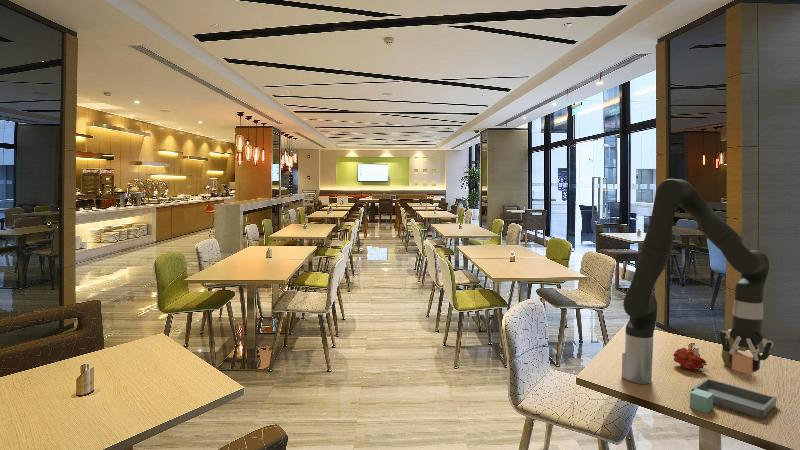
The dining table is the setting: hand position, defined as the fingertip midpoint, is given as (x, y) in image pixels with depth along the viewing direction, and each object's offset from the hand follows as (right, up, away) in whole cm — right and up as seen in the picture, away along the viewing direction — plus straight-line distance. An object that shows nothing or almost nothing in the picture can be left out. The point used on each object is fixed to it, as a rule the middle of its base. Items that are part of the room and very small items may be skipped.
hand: (744, 368), depth 148 cm
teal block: (-9, -15, +7) cm, 19 cm away
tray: (+4, -14, +10) cm, 18 cm away
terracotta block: (0, 0, 0) cm, 0 cm away
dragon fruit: (+6, -12, +39) cm, 41 cm away
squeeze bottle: (+25, -12, +41) cm, 50 cm away
